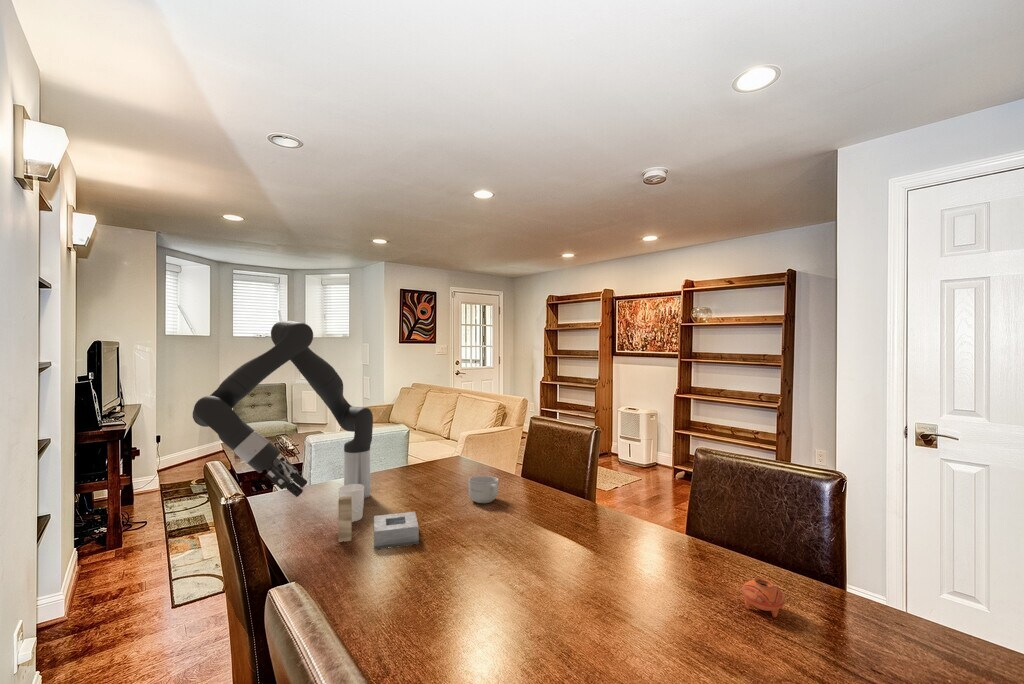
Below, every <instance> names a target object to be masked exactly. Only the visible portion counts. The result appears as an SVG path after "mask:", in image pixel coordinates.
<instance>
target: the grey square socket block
mask: <svg viewBox="0 0 1024 684" xmlns="http://www.w3.org/2000/svg"><path fill="white" fill-rule="evenodd" d="M419 531H420V530H419V523H418V519H417V514H416V511H409V512H407V511H406V512H399V513H389V514H381V515H374V516H373V534H374V535H373V550H374V549H378V550H382V549H381V548H386V549H389V548H388V547H393V548H398V547H397V546H401V547H407V546H406V545H409V546H414V545H413V544H416V545H419V544H420V542H419V541H420V540H419V538H420V535H419Z"/></svg>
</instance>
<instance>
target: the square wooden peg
mask: <svg viewBox="0 0 1024 684" xmlns="http://www.w3.org/2000/svg"><path fill="white" fill-rule="evenodd" d="M352 523H353V522H352V495H347V496H339V495H338V543H343V541H344V542H349V541H350V542H351V541H352V536H353V532H352V531H353V530H352V529H353V527H352V526H353V524H352Z"/></svg>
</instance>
